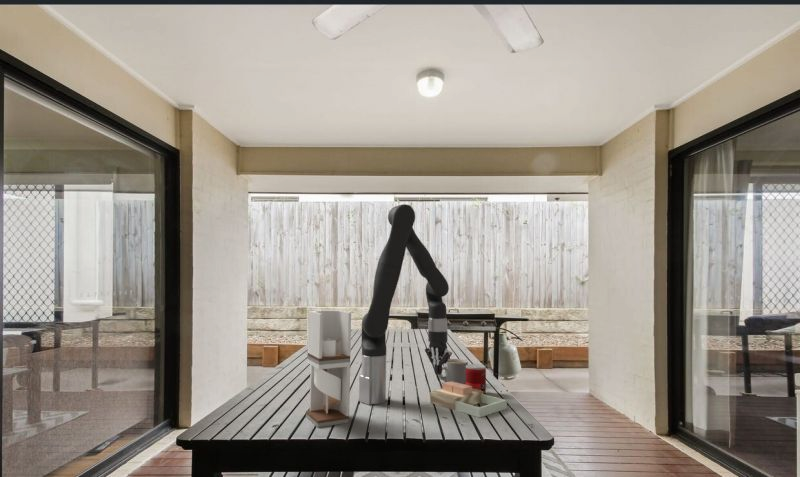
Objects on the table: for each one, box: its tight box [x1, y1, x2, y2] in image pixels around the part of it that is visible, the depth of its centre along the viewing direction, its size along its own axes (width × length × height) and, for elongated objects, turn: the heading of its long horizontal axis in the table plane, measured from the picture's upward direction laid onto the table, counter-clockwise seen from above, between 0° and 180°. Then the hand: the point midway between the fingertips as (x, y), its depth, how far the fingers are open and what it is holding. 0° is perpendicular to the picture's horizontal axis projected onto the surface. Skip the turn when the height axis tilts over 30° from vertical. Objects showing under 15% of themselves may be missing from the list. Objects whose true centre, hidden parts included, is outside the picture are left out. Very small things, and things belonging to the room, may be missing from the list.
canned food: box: [466, 363, 487, 395], centre depth 186 cm, size 8×8×11 cm
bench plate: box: [429, 388, 483, 411], centre depth 173 cm, size 16×12×4 cm
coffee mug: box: [437, 358, 469, 385], centre depth 200 cm, size 13×10×10 cm
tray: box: [454, 393, 508, 418], centre depth 165 cm, size 16×11×3 cm
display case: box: [305, 309, 352, 428], centre depth 153 cm, size 11×11×35 cm
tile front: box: [453, 384, 472, 395], centre depth 171 cm, size 5×5×2 cm
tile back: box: [441, 381, 461, 392], centre depth 175 cm, size 5×5×2 cm
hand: (438, 374), depth 181 cm, fingers closed
